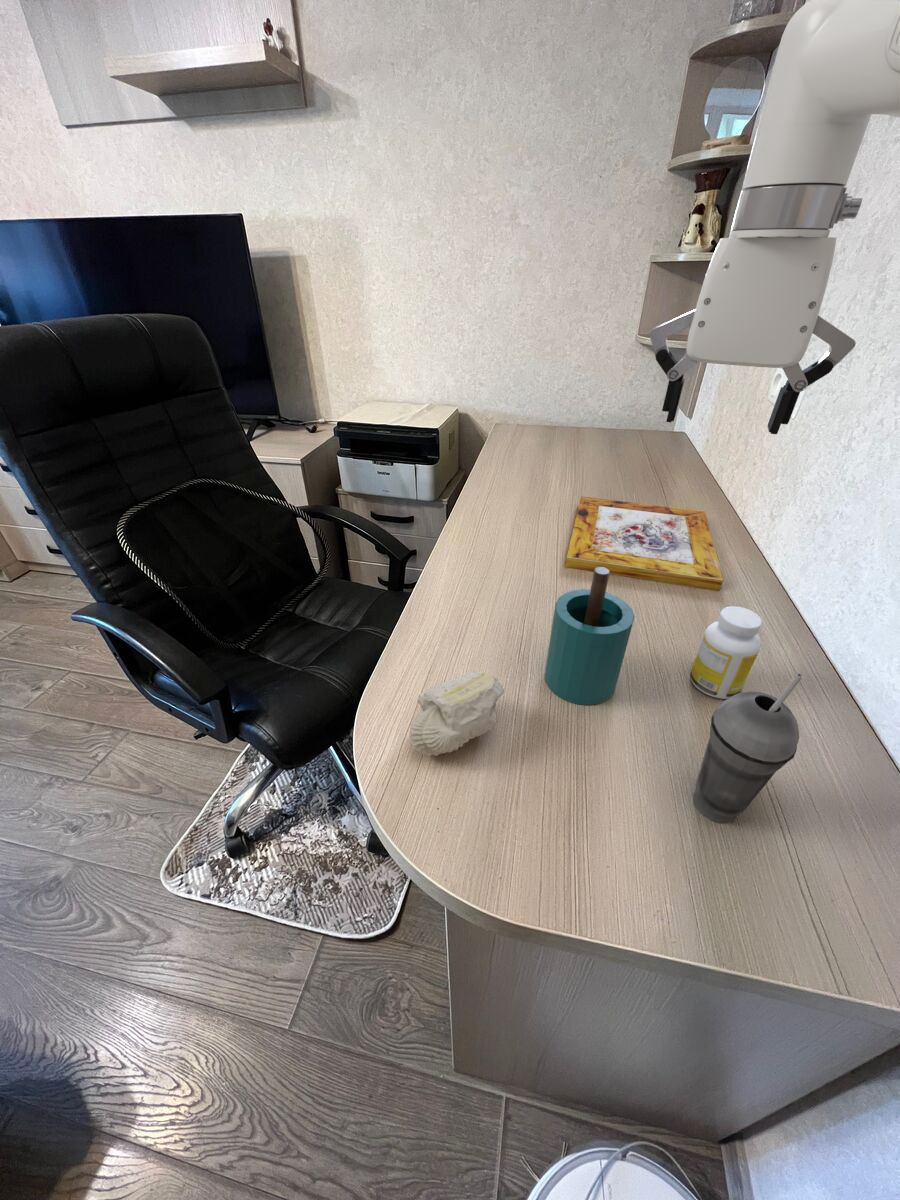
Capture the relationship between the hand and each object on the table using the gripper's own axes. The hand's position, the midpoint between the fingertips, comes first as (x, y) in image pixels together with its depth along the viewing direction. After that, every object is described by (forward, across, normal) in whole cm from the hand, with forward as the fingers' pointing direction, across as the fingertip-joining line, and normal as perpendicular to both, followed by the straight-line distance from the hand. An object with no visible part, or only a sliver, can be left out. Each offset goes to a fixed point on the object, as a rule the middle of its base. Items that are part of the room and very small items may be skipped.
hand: (719, 424), depth 52 cm
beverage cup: (+34, -10, +19) cm, 41 cm away
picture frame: (+34, +6, -40) cm, 53 cm away
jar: (+34, +8, +6) cm, 36 cm away
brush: (+34, +8, +6) cm, 35 cm away
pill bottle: (+34, -9, -1) cm, 36 cm away
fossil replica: (+34, +20, +22) cm, 46 cm away
